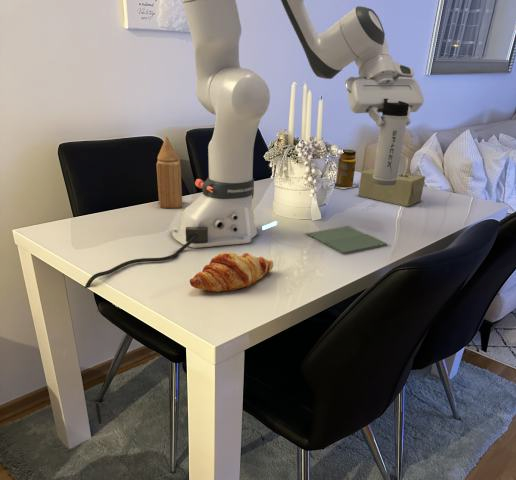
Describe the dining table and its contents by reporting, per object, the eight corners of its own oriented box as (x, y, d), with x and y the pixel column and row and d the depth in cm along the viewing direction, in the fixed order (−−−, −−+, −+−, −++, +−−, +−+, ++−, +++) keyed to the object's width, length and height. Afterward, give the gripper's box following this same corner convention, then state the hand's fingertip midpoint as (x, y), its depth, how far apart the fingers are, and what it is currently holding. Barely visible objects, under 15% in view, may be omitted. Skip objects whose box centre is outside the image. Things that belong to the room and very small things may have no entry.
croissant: (263, 280, 117) (254, 246, 116) (290, 274, 109) (281, 238, 108) (185, 303, 105) (174, 265, 104) (209, 297, 97) (198, 257, 96)
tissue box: (357, 195, 171) (363, 146, 163) (370, 190, 177) (377, 143, 169) (408, 207, 161) (418, 155, 153) (421, 201, 167) (431, 151, 159)
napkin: (344, 254, 124) (344, 251, 124) (306, 234, 136) (307, 232, 135) (386, 245, 130) (387, 243, 130) (347, 227, 142) (348, 225, 141)
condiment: (357, 186, 182) (362, 151, 176) (343, 189, 177) (347, 154, 171) (341, 182, 187) (345, 147, 180) (327, 185, 182) (330, 150, 175)
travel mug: (378, 178, 138) (390, 97, 128) (400, 182, 135) (414, 100, 124) (366, 182, 134) (378, 99, 124) (389, 186, 131) (403, 101, 120)
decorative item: (160, 202, 157) (156, 133, 147) (182, 202, 158) (179, 133, 147) (159, 208, 152) (154, 137, 141) (181, 208, 152) (178, 137, 142)
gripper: (349, 67, 123) (365, 117, 120) (418, 68, 129) (434, 115, 127) (338, 86, 129) (352, 134, 126) (404, 86, 135) (420, 131, 133)
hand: (394, 124), depth 127 cm, fingers closed on travel mug, 6 cm apart
